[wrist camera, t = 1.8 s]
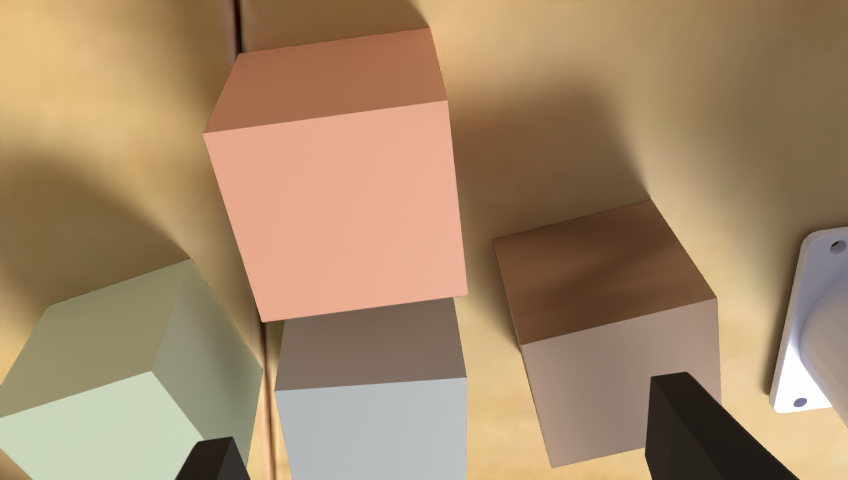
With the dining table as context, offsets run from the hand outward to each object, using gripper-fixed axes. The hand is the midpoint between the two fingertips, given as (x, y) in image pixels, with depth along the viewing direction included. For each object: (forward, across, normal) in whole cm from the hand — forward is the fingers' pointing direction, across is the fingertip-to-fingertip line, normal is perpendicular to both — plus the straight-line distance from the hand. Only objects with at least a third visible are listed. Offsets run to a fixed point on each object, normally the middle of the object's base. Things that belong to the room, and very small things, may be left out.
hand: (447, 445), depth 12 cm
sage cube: (+10, +9, +5) cm, 14 cm away
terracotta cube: (+10, +2, -2) cm, 10 cm away
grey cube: (+10, +2, +6) cm, 12 cm away
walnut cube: (+10, -5, +5) cm, 12 cm away
